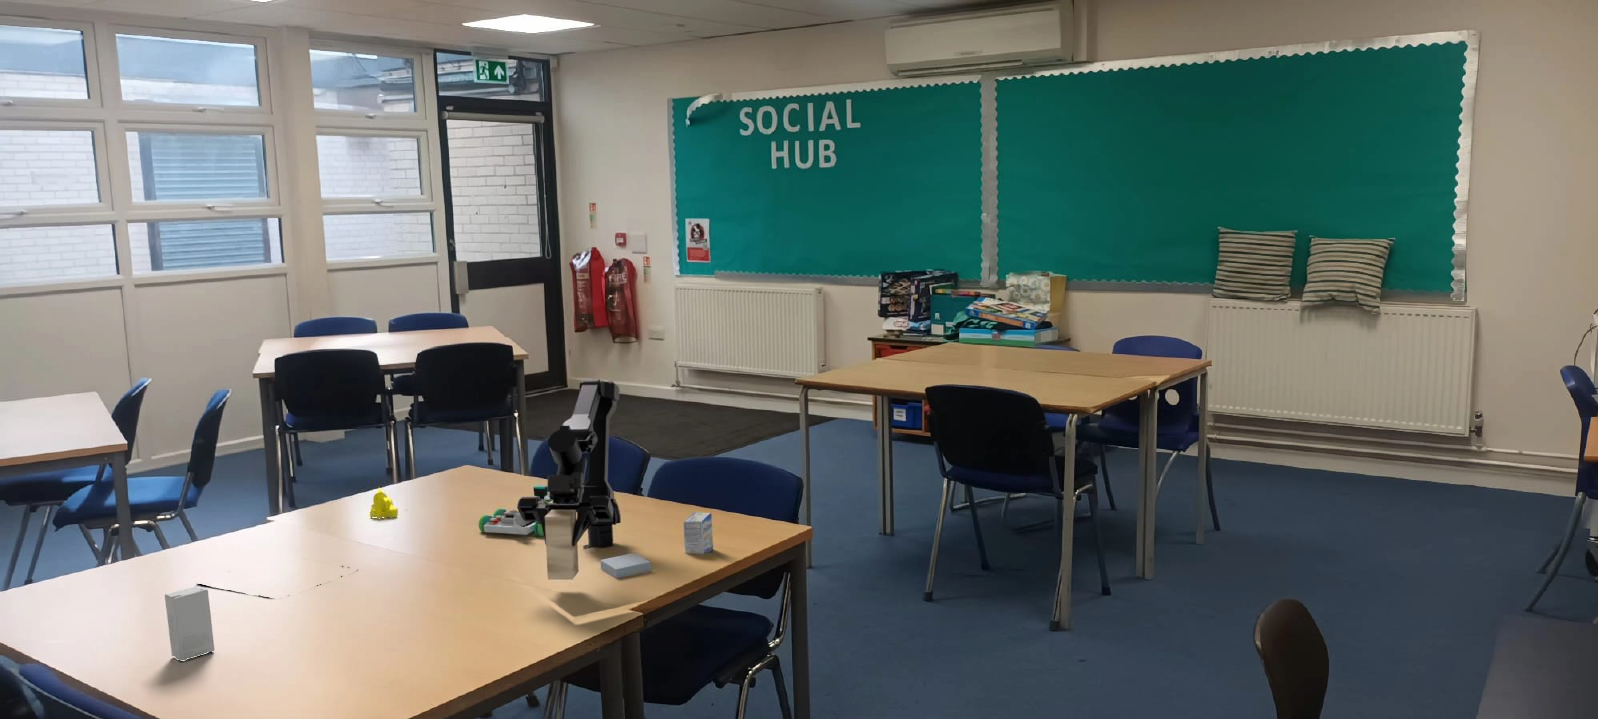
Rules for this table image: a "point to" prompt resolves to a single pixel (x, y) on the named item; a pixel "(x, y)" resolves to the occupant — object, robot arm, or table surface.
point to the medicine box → (698, 533)
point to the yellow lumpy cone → (382, 506)
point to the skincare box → (189, 622)
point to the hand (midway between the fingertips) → (560, 545)
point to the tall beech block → (561, 545)
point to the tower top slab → (625, 565)
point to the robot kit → (514, 518)
